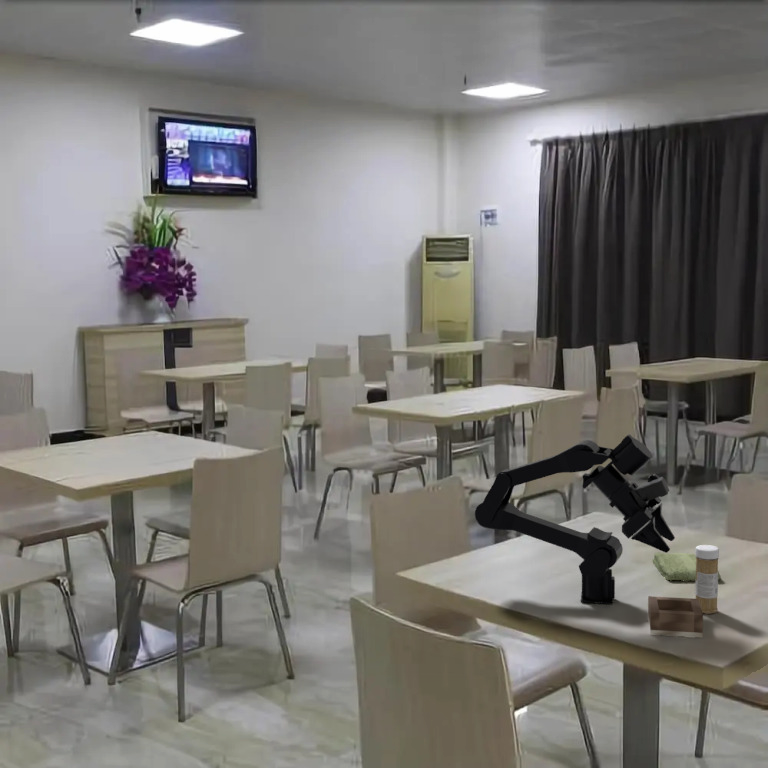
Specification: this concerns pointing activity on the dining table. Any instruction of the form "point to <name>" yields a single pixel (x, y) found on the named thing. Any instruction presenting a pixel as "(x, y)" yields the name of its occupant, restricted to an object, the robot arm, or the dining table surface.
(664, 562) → the washcloth
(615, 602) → the dining table surface
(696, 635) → the socket block
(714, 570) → the sprinkles bottle
